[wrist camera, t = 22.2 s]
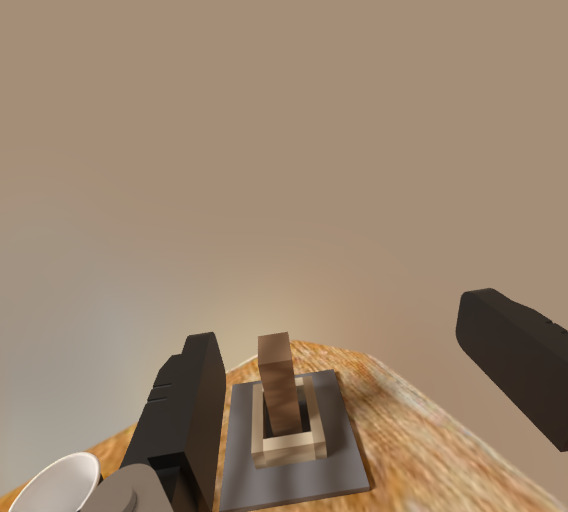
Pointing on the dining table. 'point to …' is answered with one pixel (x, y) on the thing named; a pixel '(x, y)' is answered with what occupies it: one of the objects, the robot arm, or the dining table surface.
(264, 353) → the walnut slat
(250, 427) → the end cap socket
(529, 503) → the dining table surface
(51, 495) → the dixie cup
